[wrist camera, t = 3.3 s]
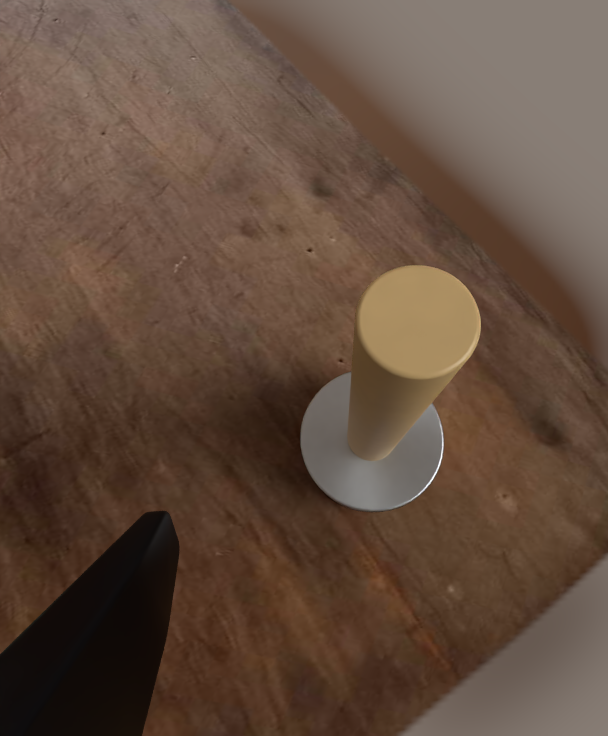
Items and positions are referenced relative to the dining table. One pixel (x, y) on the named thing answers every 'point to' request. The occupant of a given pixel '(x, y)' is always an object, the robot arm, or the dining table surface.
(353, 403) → the peg on silver base
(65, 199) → the dining table surface
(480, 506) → the dining table surface
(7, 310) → the dining table surface
